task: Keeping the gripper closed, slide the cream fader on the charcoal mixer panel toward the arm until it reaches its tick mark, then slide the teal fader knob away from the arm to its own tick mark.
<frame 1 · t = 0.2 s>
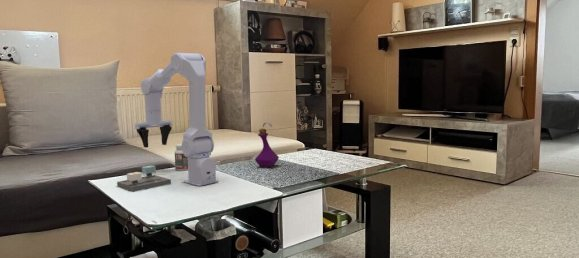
hand: (155, 146, 161), 10 cm above the table, fingers open, 7 cm apart
teal fader: (148, 171, 146), point 4 cm above the table, slide at 0.0 cm
cream fader: (134, 178, 136), point 4 cm above the table, slide at 0.0 cm
pill bottle: (182, 169, 165), on the table
perfume bottle: (267, 167, 168), on the table
mixer panel: (144, 184, 141), on the table
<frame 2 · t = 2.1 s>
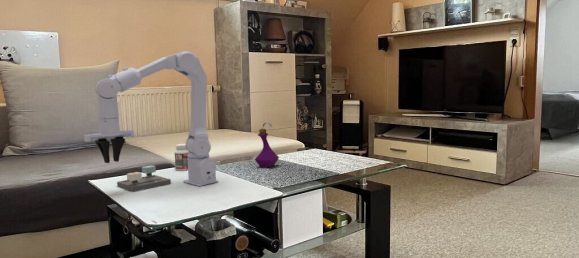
hand: (111, 162, 130), 10 cm above the table, fingers closed
nothing on the table moved.
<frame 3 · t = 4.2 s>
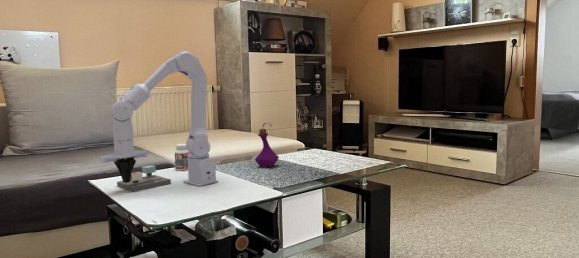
hand: (126, 182, 134), 3 cm above the table, fingers closed
cream fader: (135, 177, 136), point 4 cm above the table, slide at 0.3 cm, touching gripper
everything else where it was.
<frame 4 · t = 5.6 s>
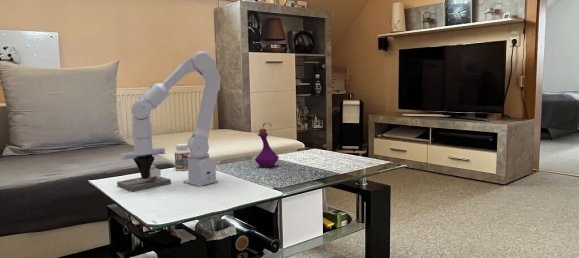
hand: (145, 178, 138), 3 cm above the table, fingers closed
cream fader: (153, 174, 141), point 4 cm above the table, slide at 6.7 cm, touching gripper
everything else where it was.
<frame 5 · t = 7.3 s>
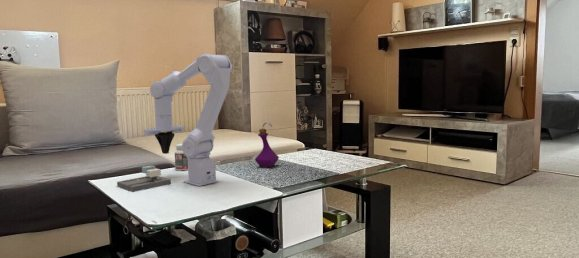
hand: (165, 153, 150), 9 cm above the table, fingers closed
cream fader: (153, 174, 141), point 4 cm above the table, slide at 6.8 cm
everything else where it was.
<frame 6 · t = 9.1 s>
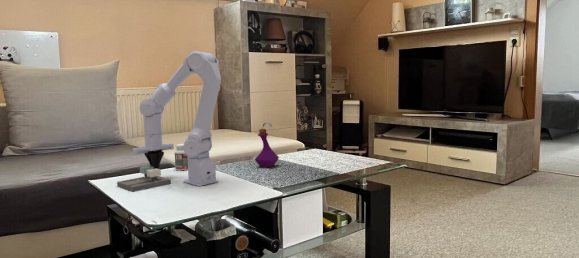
hand: (155, 171, 148), 3 cm above the table, fingers closed
teal fader: (146, 171, 146), point 4 cm above the table, slide at 0.7 cm, touching gripper
everything else where it was.
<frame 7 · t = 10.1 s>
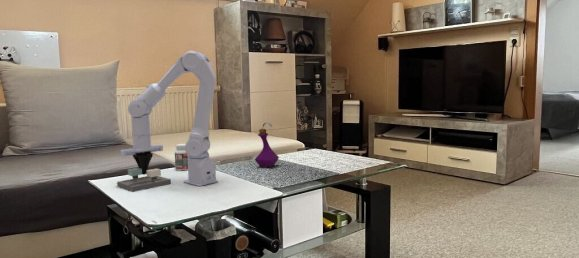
hand: (143, 174, 145), 3 cm above the table, fingers closed
teal fader: (135, 173, 143), point 4 cm above the table, slide at 5.1 cm, touching gripper
everything else where it was.
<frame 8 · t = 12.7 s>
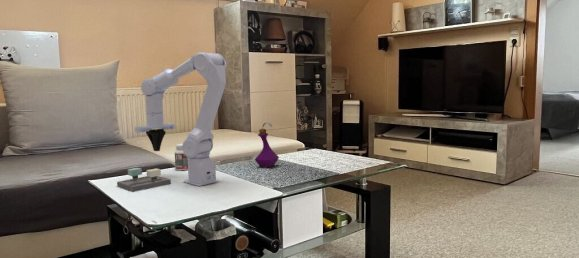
hand: (156, 150, 150), 10 cm above the table, fingers closed
teal fader: (134, 173, 143), point 4 cm above the table, slide at 5.1 cm
everything else where it was.
at the end: cream fader slide at 6.8 cm; teal fader slide at 5.1 cm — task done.
